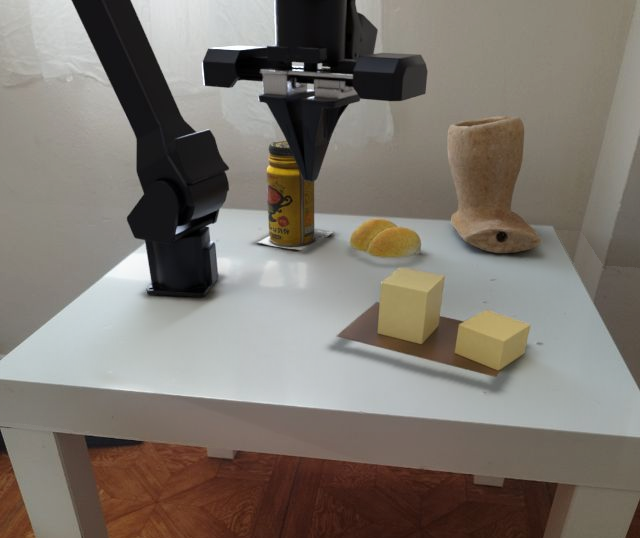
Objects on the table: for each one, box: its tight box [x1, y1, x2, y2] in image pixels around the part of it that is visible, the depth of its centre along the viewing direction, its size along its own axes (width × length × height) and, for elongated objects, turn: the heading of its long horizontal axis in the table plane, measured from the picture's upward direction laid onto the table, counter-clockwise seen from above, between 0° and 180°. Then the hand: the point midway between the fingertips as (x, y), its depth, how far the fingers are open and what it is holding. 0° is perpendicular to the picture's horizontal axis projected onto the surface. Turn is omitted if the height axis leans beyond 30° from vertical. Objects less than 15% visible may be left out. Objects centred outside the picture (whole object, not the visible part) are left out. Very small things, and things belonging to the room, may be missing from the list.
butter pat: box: [455, 309, 532, 371], centre depth 53 cm, size 4×4×3 cm
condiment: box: [256, 140, 334, 251], centre depth 79 cm, size 7×8×12 cm
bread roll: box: [349, 217, 422, 258], centre depth 77 cm, size 8×9×4 cm
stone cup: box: [446, 115, 543, 254], centre depth 79 cm, size 15×12×15 cm
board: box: [336, 301, 502, 378], centre depth 57 cm, size 15×9×1 cm, turn 61°
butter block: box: [378, 266, 446, 344], centre depth 56 cm, size 4×4×5 cm
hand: (310, 180), depth 56 cm, fingers closed
